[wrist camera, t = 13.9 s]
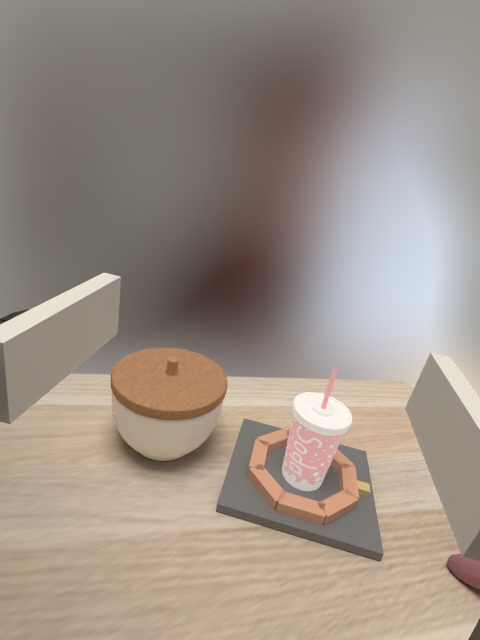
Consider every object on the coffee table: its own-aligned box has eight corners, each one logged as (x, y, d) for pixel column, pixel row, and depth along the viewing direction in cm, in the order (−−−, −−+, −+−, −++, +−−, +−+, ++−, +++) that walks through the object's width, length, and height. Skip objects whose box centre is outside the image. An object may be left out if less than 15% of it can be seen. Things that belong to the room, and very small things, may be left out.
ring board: (215, 511, 37) (219, 494, 36) (242, 424, 49) (245, 411, 48) (379, 561, 35) (387, 545, 34) (363, 457, 47) (368, 444, 47)
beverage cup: (264, 464, 42) (292, 356, 37) (302, 448, 46) (333, 348, 40) (300, 505, 38) (338, 390, 32) (340, 485, 41) (380, 378, 36)
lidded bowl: (235, 436, 47) (250, 360, 43) (169, 501, 37) (182, 411, 32) (159, 394, 52) (167, 324, 48) (83, 442, 42) (84, 357, 38)
